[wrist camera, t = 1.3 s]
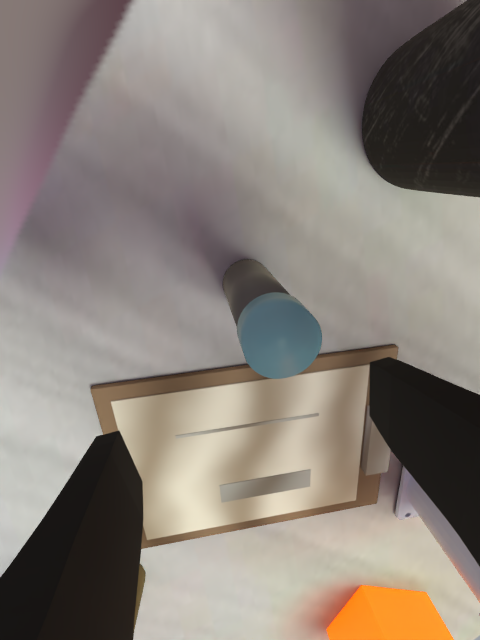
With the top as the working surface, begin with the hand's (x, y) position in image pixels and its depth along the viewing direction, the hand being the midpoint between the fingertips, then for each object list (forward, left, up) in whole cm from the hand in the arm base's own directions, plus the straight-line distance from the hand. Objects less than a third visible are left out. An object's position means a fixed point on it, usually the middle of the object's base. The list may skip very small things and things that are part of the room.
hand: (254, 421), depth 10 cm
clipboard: (-2, +12, -11) cm, 17 cm away
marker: (-2, -1, -11) cm, 11 cm away
